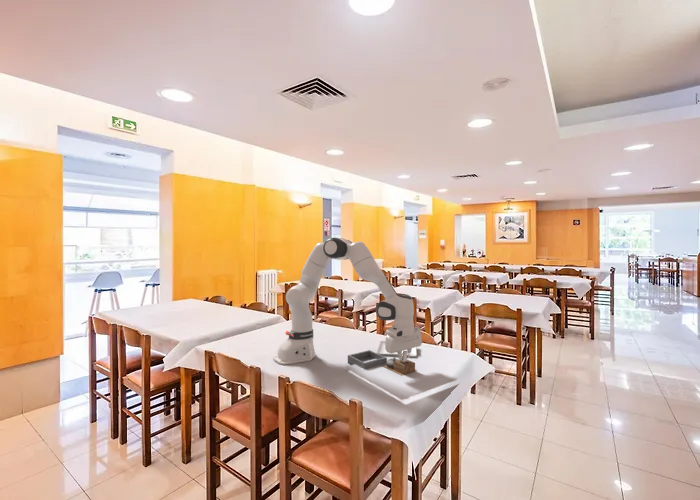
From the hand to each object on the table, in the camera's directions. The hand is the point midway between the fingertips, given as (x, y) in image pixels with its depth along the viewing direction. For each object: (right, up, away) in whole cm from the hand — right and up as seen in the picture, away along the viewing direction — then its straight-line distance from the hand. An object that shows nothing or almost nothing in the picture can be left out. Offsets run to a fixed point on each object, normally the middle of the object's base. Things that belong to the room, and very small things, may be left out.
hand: (404, 358), depth 156 cm
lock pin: (0, -6, 0) cm, 6 cm away
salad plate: (+1, -7, +29) cm, 30 cm away
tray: (-17, -7, +12) cm, 22 cm away
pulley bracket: (-2, -7, +3) cm, 8 cm away
